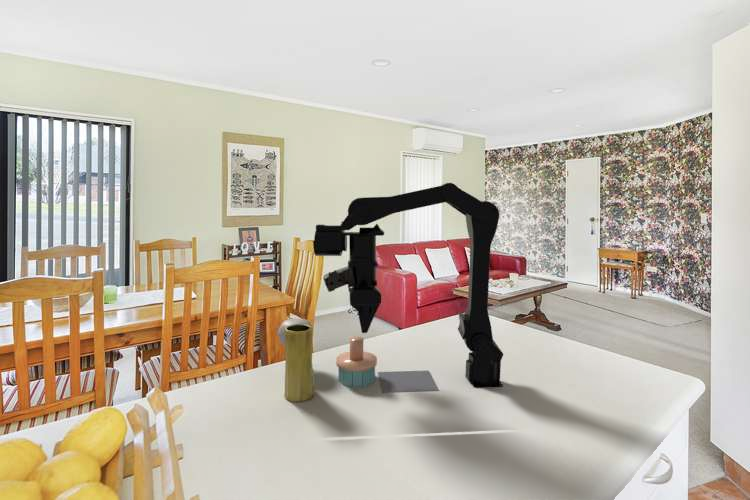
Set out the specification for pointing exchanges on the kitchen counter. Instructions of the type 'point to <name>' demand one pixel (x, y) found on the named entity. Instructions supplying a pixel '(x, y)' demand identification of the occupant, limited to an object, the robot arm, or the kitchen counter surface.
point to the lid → (356, 357)
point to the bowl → (356, 377)
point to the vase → (298, 363)
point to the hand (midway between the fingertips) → (363, 326)
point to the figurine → (287, 323)
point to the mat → (406, 381)
